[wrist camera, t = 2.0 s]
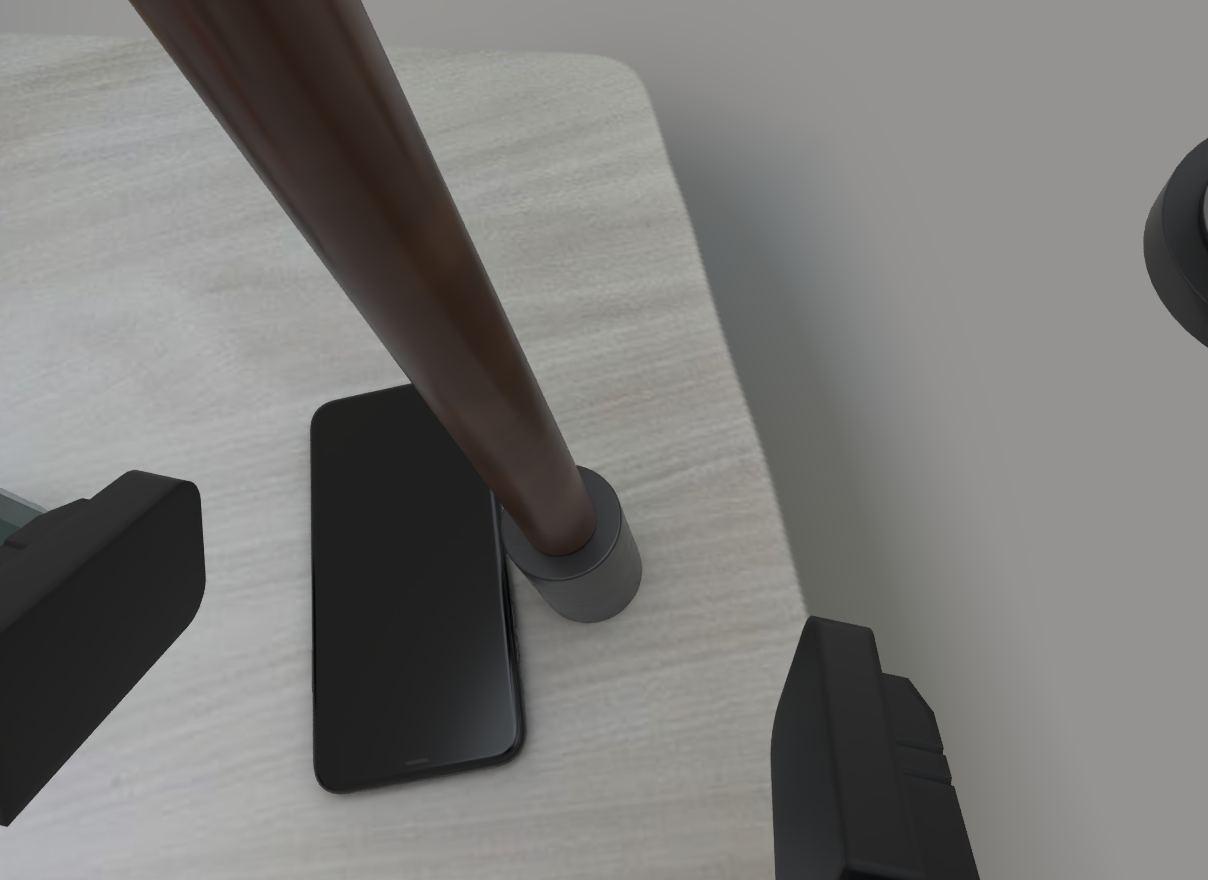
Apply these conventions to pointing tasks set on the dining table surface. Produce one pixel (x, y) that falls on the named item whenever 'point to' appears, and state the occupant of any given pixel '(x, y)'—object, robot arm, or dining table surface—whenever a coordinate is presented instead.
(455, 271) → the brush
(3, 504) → the green faceted cup
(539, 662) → the dining table surface
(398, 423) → the smartphone
